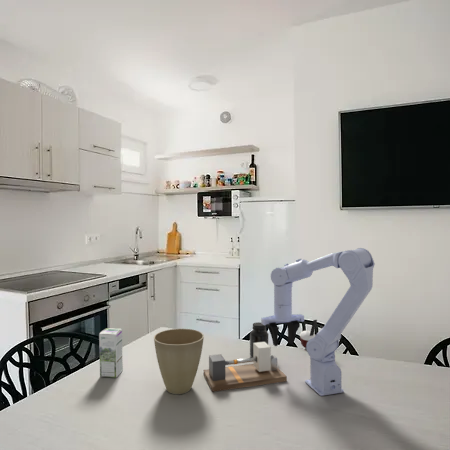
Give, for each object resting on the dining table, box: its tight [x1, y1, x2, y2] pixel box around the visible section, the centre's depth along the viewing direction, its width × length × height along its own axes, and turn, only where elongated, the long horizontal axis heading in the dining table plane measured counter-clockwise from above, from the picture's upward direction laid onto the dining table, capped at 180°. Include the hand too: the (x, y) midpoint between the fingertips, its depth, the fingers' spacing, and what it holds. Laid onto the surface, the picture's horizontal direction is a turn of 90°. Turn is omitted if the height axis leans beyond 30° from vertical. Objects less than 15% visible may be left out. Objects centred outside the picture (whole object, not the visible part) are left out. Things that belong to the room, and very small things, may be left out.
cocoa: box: [299, 319, 318, 349], centre depth 141 cm, size 10×6×12 cm, turn 177°
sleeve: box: [252, 342, 272, 372], centre depth 116 cm, size 5×4×8 cm
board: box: [203, 363, 288, 393], centre depth 114 cm, size 12×24×2 cm, turn 106°
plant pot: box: [153, 328, 205, 395], centre depth 108 cm, size 15×15×16 cm
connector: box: [208, 353, 226, 381], centre depth 112 cm, size 5×4×6 cm
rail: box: [225, 355, 278, 371], centre depth 115 cm, size 2×20×5 cm, turn 106°
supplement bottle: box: [249, 321, 269, 358], centre depth 132 cm, size 7×7×12 cm
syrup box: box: [98, 327, 124, 378], centre depth 117 cm, size 6×6×14 cm
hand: (282, 344), depth 118 cm, fingers open, 5 cm apart
